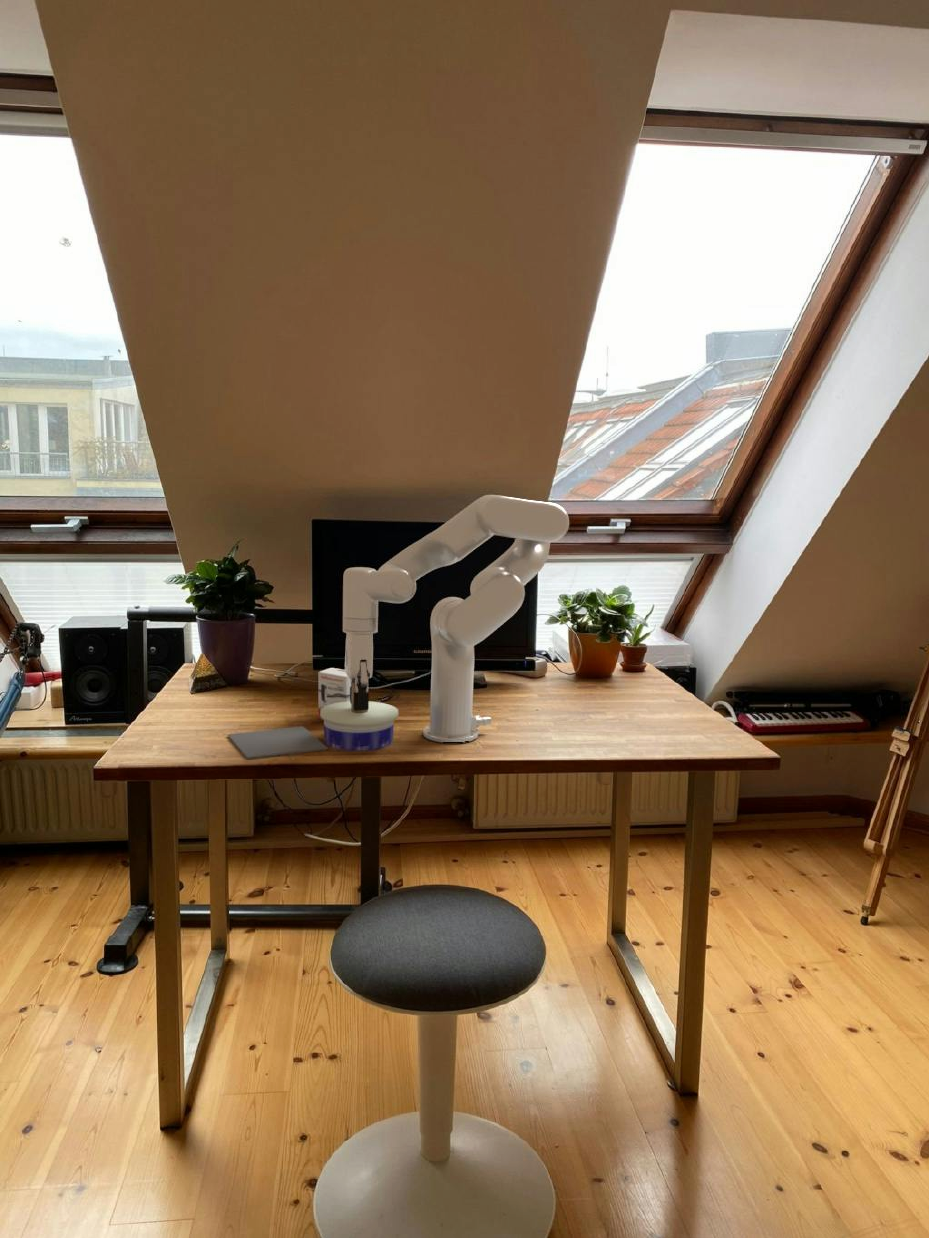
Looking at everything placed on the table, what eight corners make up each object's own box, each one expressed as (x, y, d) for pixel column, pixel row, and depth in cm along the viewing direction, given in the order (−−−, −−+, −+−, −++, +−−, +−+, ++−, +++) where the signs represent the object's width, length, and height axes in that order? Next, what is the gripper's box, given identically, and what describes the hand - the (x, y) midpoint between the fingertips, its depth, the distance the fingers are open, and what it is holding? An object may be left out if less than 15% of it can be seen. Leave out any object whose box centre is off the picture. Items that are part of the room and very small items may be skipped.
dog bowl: (321, 732, 196) (321, 707, 195) (387, 730, 200) (388, 705, 199) (326, 753, 182) (326, 726, 181) (398, 750, 185) (399, 723, 184)
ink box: (317, 718, 207) (317, 670, 205) (330, 714, 211) (330, 667, 209) (346, 724, 202) (346, 675, 201) (358, 720, 207) (359, 671, 205)
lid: (379, 702, 201) (380, 673, 200) (411, 721, 187) (411, 689, 186) (309, 709, 193) (309, 679, 192) (336, 729, 178) (337, 697, 177)
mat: (302, 728, 198) (302, 726, 198) (327, 749, 184) (327, 747, 184) (227, 736, 190) (227, 734, 190) (247, 759, 176) (247, 757, 176)
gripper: (338, 618, 194) (337, 697, 197) (348, 632, 178) (347, 718, 180) (371, 618, 196) (370, 696, 198) (384, 631, 180) (382, 716, 182)
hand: (359, 706), depth 189 cm, fingers open, 4 cm apart
